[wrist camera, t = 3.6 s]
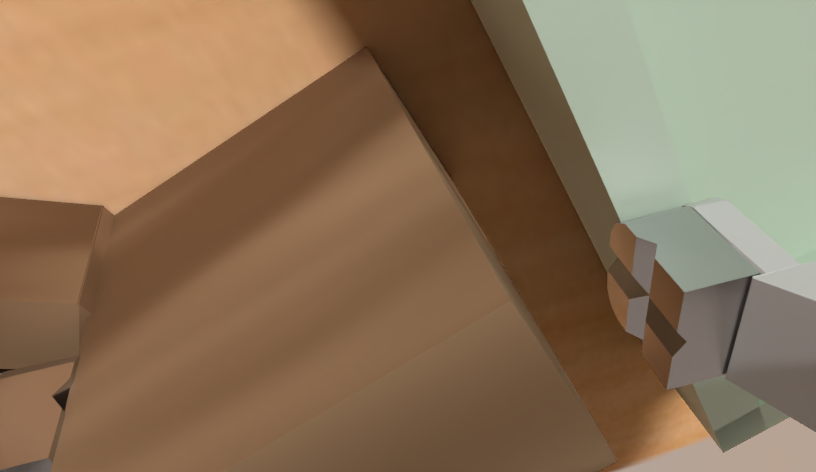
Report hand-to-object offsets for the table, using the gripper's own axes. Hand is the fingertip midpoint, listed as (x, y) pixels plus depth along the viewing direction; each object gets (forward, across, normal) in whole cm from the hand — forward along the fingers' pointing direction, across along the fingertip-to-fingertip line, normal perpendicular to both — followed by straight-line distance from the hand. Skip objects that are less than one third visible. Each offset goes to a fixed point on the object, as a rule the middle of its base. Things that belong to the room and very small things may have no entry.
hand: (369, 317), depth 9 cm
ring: (+3, +7, +2) cm, 8 cm away
